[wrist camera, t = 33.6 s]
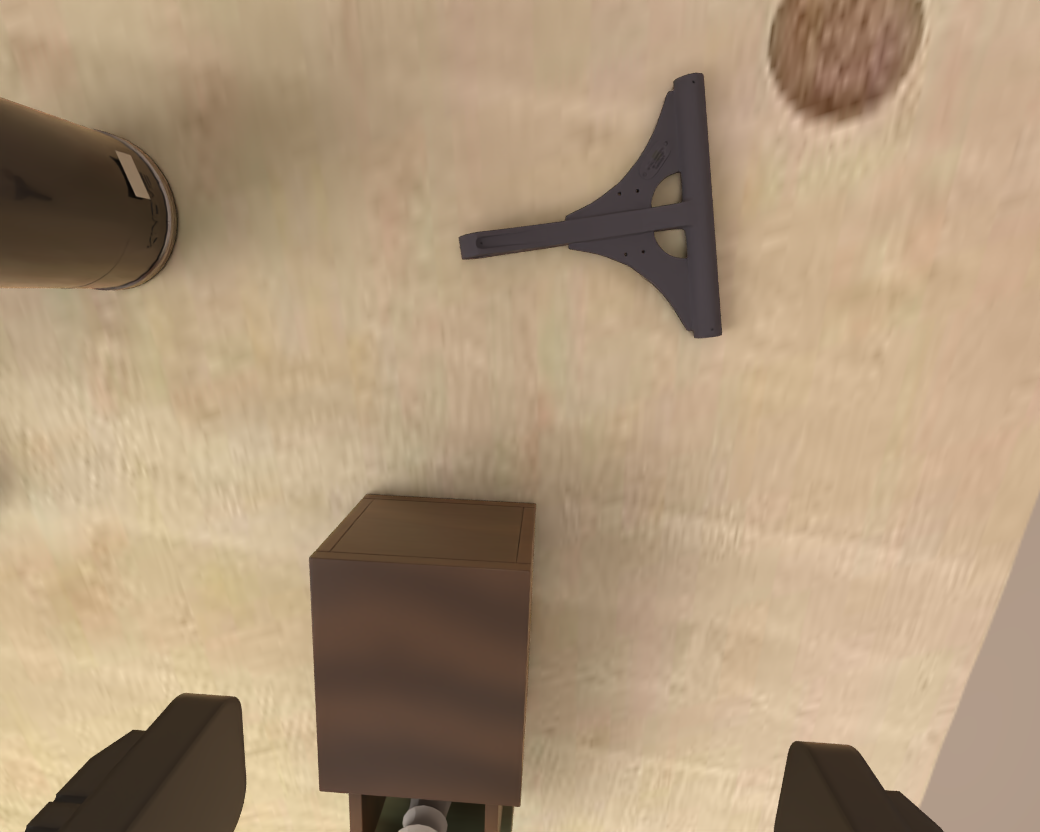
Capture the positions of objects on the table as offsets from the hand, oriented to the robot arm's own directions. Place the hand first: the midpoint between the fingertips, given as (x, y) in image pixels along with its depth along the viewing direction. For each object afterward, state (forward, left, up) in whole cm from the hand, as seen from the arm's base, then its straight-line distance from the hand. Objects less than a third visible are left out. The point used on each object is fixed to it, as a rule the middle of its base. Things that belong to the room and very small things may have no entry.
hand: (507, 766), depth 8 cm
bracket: (+2, +10, -30) cm, 32 cm away
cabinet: (-6, -15, -30) cm, 34 cm away
